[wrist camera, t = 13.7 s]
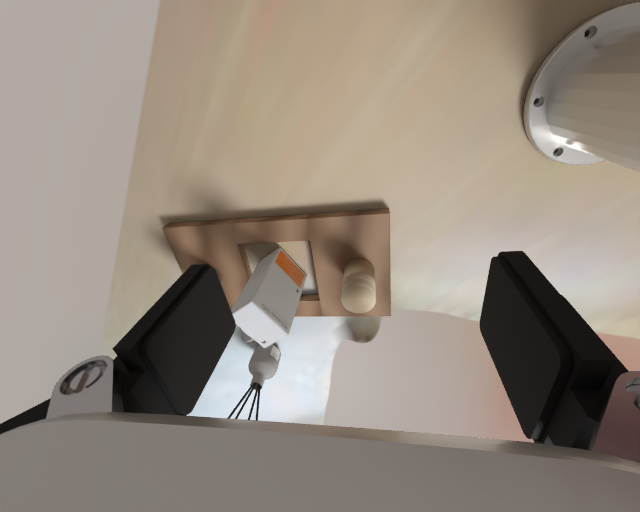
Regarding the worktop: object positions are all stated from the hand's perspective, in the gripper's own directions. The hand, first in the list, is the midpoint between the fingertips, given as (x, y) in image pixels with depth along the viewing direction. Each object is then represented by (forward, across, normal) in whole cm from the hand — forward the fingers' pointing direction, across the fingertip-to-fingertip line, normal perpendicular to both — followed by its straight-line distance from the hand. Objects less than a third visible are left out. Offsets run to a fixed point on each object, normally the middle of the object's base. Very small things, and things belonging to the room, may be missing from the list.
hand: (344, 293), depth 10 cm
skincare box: (+26, +12, +16) cm, 33 cm away
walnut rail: (+26, +12, +16) cm, 33 cm away
